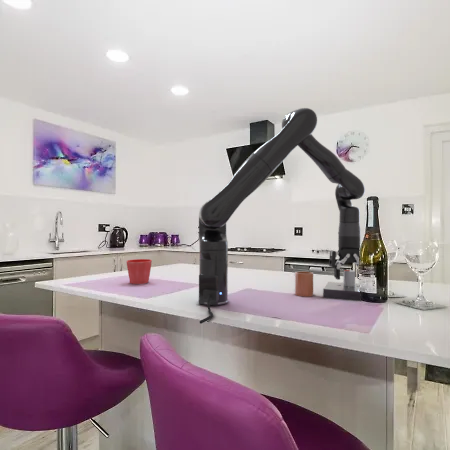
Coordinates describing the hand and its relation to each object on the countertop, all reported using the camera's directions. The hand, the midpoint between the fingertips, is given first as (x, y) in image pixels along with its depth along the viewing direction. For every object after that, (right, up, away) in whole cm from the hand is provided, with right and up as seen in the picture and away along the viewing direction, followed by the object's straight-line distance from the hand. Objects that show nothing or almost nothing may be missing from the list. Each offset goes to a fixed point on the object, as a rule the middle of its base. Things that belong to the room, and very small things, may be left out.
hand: (348, 279), depth 122 cm
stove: (-2, -5, -1) cm, 6 cm away
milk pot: (-17, -5, -1) cm, 18 cm away
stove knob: (0, -2, 0) cm, 2 cm away
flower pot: (-83, -5, +22) cm, 86 cm away
